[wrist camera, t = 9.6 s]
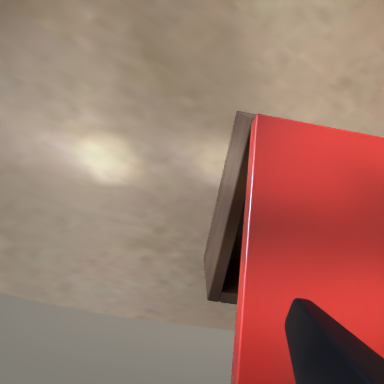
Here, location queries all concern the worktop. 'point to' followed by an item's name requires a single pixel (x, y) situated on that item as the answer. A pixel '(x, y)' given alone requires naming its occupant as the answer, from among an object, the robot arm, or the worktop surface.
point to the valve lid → (308, 240)
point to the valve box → (229, 217)
